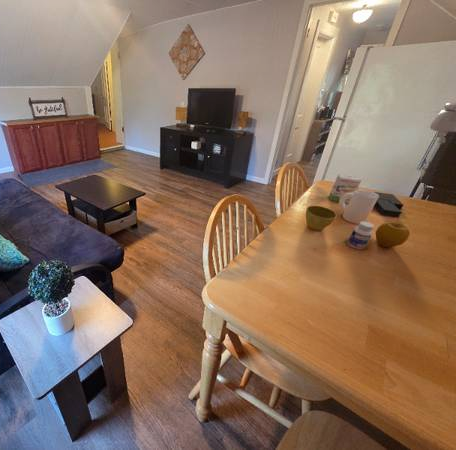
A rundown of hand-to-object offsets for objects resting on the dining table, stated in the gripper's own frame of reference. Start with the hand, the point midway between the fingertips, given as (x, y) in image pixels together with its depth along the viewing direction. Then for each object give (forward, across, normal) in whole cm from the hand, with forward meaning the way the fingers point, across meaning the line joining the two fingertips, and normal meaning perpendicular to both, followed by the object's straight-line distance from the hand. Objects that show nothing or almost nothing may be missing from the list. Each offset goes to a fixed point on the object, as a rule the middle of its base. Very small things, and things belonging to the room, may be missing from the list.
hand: (455, 144), depth 96 cm
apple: (+29, +23, +39) cm, 54 cm away
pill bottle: (+29, +33, +43) cm, 62 cm away
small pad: (+29, +13, +6) cm, 32 cm away
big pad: (+29, +13, -3) cm, 32 cm away
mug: (+29, +30, +20) cm, 46 cm away
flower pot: (+29, +45, +35) cm, 64 cm away
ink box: (+29, +30, +2) cm, 42 cm away
